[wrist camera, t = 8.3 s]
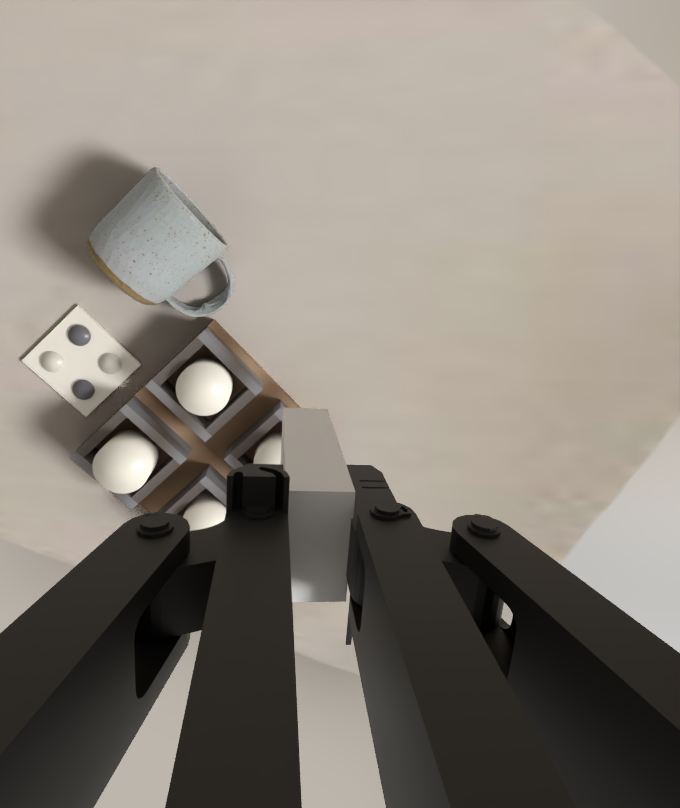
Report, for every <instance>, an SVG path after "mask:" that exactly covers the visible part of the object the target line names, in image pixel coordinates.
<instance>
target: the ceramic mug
mask: <svg viewBox="0 0 680 808" xmlns="http://www.w3.org/2000/svg"><path fill="white" fill-rule="evenodd" d="M88 249H89V253H90V255H91V257H92V258H93V260H94V262H95V263H96V264H97V266H98V267H99V268H100V269H101V271H102V272H103V273H104V274H105V275H106V276H107V277H108V278H109V279H110V280H111V281H112V282H113V283H114V284H115V285H116V286H117V287H119V288H120V289H121V290H122V291H123V292H125V293H126V294H127V295H129V296H130V297H132V298H133V299H135V300H136V301H138V302H140V303H143V304H146V305H157V304H159V303H161V302H163V301H167V302H168V303H169V304H170V305H171V306H172V307H173V308H174V309H176V310H178V311H179V312H181V313H183V314H186V315H188V316H192V317H203V316H208V315H211V314H214V313H216V312H217V311H219V310H220V309H222V308H223V307H224V306H225V305H226V304H227V303H228V302H229V301H230V299H231V297H232V295H233V292H234V279H233V274H232V271H231V269H230V266H229V265H228V263H227V261H226V259H225V257H224V255H223V253H225V252H226V251H227V249H228V246H227V244H226V242H225V240H224V239H223V237H222V236H221V235H220V233H219V232H218V230H217V229H216V228H215V226H214V225H213V224H212V223H211V222H210V221H209V220H208V218H207V217H206V216H205V214H204V213H203V212H202V211H201V210H200V209H199V208H198V207H197V205H196V204H195V203H194V202H193V201H192V200H191V199H190V197H189V196H188V195H187V194H186V193H185V192H184V191H183V190H182V189H181V188H180V187H179V186H178V185H177V184H176V183H175V182H174V181H173V180H172V179H171V178H170V177H169V176H168V175H167V174H166V173H164V172H163V171H161V170H160V169H159V168H156V167H154V168H152V169H150V170H149V172H148V173H147V174H146V175H145V176H144V177H143V178H142V179H141V180H140V181H139V182H138V183H137V184H136V185H135V186H134V187H133V188H132V189H131V190H130V191H129V192H128V193H127V194H126V195H125V196H124V197H123V199H122V200H121V201H120V202H119V203H118V204H117V205H116V206H115V207H114V208H113V209H112V210H111V211H110V212H109V213H108V214H107V215H106V216H105V217H104V218H103V219H102V220H101V221H100V222H99V223H98V225H97V226H96V227H95V229H94V230H93V232H92V233H91V235H90V237H89V239H88ZM216 259H219V260H220V261H221V262H222V264H223V265H224V267H225V270H226V272H227V278H228V283H227V287H226V288H225V290H224V291H223V292H222V293H220V294H219V295H218V296H216V297H215V298H214V299H212V300H210V301H209V302H205V303H203V304H202V307H193V306H187V305H185V304H184V303H181V302H179V301H178V300H176V299H175V298H174V297H172V295H174V294H175V293H176V292H177V291H178V290H180V289H181V288H182V287H183V286H184V285H185V284H186V283H187V282H189V281H190V280H191V279H192V278H193V277H195V276H196V275H197V274H199V273H200V272H201V271H203V270H204V269H205V268H206V267H207V266H208V265H210V264H211V263H212V262H213V261H215V260H216Z"/></svg>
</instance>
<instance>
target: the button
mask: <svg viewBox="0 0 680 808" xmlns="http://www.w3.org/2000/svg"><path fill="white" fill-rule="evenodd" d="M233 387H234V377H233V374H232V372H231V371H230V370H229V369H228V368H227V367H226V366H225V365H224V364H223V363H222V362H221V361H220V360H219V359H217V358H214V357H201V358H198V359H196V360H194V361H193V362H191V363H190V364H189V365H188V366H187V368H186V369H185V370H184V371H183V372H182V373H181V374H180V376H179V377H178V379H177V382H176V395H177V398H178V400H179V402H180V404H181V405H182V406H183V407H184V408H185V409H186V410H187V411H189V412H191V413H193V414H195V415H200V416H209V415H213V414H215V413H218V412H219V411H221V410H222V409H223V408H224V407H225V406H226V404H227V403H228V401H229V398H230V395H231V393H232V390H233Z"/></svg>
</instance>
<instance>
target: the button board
mask: <svg viewBox="0 0 680 808" xmlns="http://www.w3.org/2000/svg"><path fill="white" fill-rule="evenodd" d="M201 357H214V358H217V359H219V360H220V361H221V362H222V363H223V364H224V365H225V366H226V367H227V368H228V369H229V370H230V371H231V372H232V374H233V377H234V387H233V390H232V393H231V395H230V398H229V401H228V403H227V404H226V406H225V407H224V408H223V409H222V410H221V411H219V412H218V413H215V414H213V415H209V416H200V415H195V414H193V413H191V412H189V411H187V410H186V409H185V408H184V407H183V406H182V405H181V404H180V402H179V400H178V398H177V395H176V382H177V379H178V377H179V376H180V374H181V373H182V372H183V371H184V370H185V369H186V368H187V366H188V365H189V364H190V363H191V362H193V361H194V360H196V359H198V358H201ZM283 408H300V407H299V406H298V405H297V404H296V403H295V401H294V400H293V399H292V398H291V397H290V396H289V395H288V394H287V393H286V392H285V391H284V390H283V389H282V388H281V387H280V386H279V385H278V384H277V383H276V382H275V381H274V380H273V379H272V378H271V377H270V376H269V375H268V374H267V373H266V372H265V371H264V370H263V369H262V368H261V367H260V366H259V365H258V364H257V363H256V362H255V361H254V360H253V358H252V357H251V356H250V355H249V354H248V353H247V352H246V351H245V350H244V349H243V348H242V347H241V346H240V345H239V344H238V343H237V342H236V341H235V340H234V339H233V338H232V337H231V336H230V335H229V334H228V333H227V332H226V331H225V330H224V329H223V328H222V327H221V326H220V325H219V324H218V323H217V322H216V321H215V320H213V321H212V322H211V323H210V324H209V325H208V326H207V327H206V328H205V329H204V330H203V331H202V332H200V333H199V334H198V335H197V336H196V337H195V338H194V339H193V340H192V341H191V342H190V343H189V344H188V345H187V346H186V347H185V348H184V349H183V350H181V351H180V352H179V353H178V354H177V355H176V356H175V357H174V358H173V359H172V360H171V361H170V362H169V363H168V364H167V365H166V366H165V367H163V368H162V369H161V370H160V371H159V372H158V373H157V374H156V375H155V376H154V377H153V378H152V379H151V380H150V381H149V382H148V383H147V384H146V385H144V386H143V387H142V388H141V389H140V390H139V391H138V392H137V393H136V394H135V395H134V396H133V397H132V398H131V399H130V400H129V401H128V402H127V403H125V404H124V405H123V406H122V407H121V408H120V409H119V410H118V411H117V412H116V413H115V414H114V415H113V416H112V417H111V418H110V419H109V420H107V421H106V422H105V423H104V424H103V425H102V426H101V427H100V428H99V429H98V430H97V431H96V432H95V433H94V434H93V435H92V436H91V437H90V438H88V439H87V440H86V441H85V442H84V443H83V444H82V445H81V446H80V447H79V448H78V449H77V451H76V452H75V453H74V454H73V455H72V456H71V457H70V459H71V460H73V461H74V462H75V463H76V464H77V465H79V466H80V467H81V468H82V469H83V470H85V471H86V472H87V473H88V474H89V475H91V476H92V477H93V478H94V479H95V477H94V474H93V469H92V464H93V460H94V457H95V455H96V454H97V453H98V451H99V450H100V449H101V448H102V447H103V446H104V445H105V444H106V443H107V442H108V441H109V440H110V439H111V438H112V437H113V436H114V435H116V434H117V433H119V432H121V431H125V430H137V431H140V432H143V433H145V434H146V435H147V436H149V437H150V438H151V439H152V440H153V441H154V442H155V444H156V445H157V448H158V452H159V458H158V462H157V464H156V466H155V468H154V469H153V471H152V473H151V474H150V476H149V477H148V479H147V481H146V482H145V484H144V485H143V486H142V487H141V488H139V489H138V490H136V491H134V492H131V493H126V494H119V493H114V492H111V491H110V492H111V493H112V494H113V495H115V496H116V497H117V498H118V499H119V500H121V501H122V502H123V503H124V504H125V505H127V506H128V507H129V508H130V509H131V510H132V509H133V508H134V507H135V506H136V505H138V504H141V505H142V506H143V507H144V508H145V509H147V510H148V511H149V512H150V513H153V512H162V513H171V514H175V515H179V516H181V517H183V515H184V513H185V510H186V507H187V505H188V504H189V503H190V502H191V501H192V500H193V499H194V498H195V497H196V496H197V495H198V494H200V493H201V492H204V491H210V492H211V493H212V494H213V495H214V496H215V497H217V498H218V499H219V500H220V501H221V502H222V503H223V504H224V505H226V495H227V475H228V474H229V472H230V471H232V470H234V469H236V468H238V467H243V466H245V465H246V464H253V463H254V455H255V450H256V447H257V445H258V443H259V442H260V441H261V440H262V439H263V438H264V437H266V436H267V435H270V434H273V433H282V418H283ZM95 480H96V479H95Z"/></svg>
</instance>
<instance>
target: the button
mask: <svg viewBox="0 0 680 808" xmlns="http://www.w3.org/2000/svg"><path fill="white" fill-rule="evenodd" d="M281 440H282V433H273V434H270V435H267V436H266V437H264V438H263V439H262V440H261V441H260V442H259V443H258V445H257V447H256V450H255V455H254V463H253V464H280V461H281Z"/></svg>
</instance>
